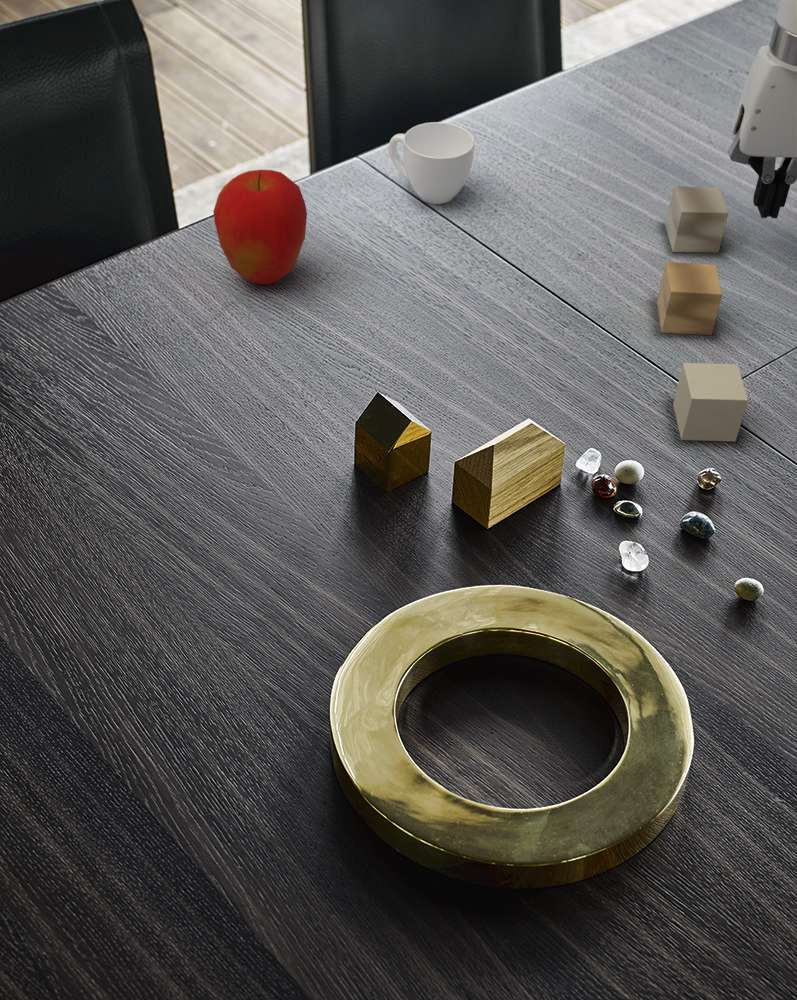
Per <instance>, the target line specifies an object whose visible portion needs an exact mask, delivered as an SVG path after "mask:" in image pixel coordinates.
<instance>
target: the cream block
mask: <svg viewBox="0 0 797 1000" xmlns="http://www.w3.org/2000/svg"><path fill="white" fill-rule="evenodd" d="M745 387H746V386H745V384H744V381H743V377H742V374H741V371H740V367H739V364H738V363H710V362H709V363H708V362H707V363H706V362H705V363H703V362H683V363H682V366H681V371H680V374H679V379H678V382H677V387H676V389H675V395H674V398H673V402H672V406H673V410H674V415H675V419H676V423H677V428H678V432H679V437H680V440H681V441H699V442H701V441H702V442H734V443H735V442H736V441H737V439H738V435H739V432H740V429H741V426H742V422H743V418H744V415H745V412H746V408H747V406H748V402H749V397H748V394H747V390H746V388H745Z"/></svg>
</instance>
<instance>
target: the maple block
mask: <svg viewBox="0 0 797 1000" xmlns="http://www.w3.org/2000/svg"><path fill="white" fill-rule="evenodd" d="M722 290H723V289H722V286H721V281H720V277H719V272H718V268H717V265H716V264H711V263H694V262H693V263H691V262H673V261H665V264H664V268H663V272H662V277H661V281H660V286H659V291H658V293H657V294H658V295H657V300H656V306H657V312H658V313H657V314H658V319H659V326H660V331H661V333H663V334H682V335H696V336H697V335H700V336H713V333H714V328H715V325H716V322H717V317H718V314H719V310H720V305H721V303H722V302H721V301H722V298H723V295H724V294H723V291H722Z"/></svg>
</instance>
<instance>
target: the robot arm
mask: <svg viewBox="0 0 797 1000" xmlns="http://www.w3.org/2000/svg"><path fill="white" fill-rule="evenodd" d="M731 130H732V134H733V135H734V138H733V140H732V142H731V144H730V146H729V148H728V150H727V154H728V158H729V159H730V161H732V162H734V163H738V164H742V165H747V166H750V168H752V170H753V171H754V172H755V173H756V175H757V177H758V178H757V181H756V185H755V189H754V193H753V196H752V197H753V198H752V199H753V200H752V202H753V206H754V207H757V210H758V212H759V215H760V218H761V219H767V218H771V219H778V217H779V214H780V210H781V208H784V207H785V205H786V202H787V199H788V195H789V191H790V188H791V185H794V184H795V183H796V182H797V0H779V3H778V8H777V12H776V16H775V21H774V24H773V28H772V34H771V37H770V41H769V44H768V45H767V44H766V45H762V46H761V47H760V48H759V49H758V52H757V53H756V55H755V58H754V61H753V62H752V64H751V67H750V69H749V72H748V74H747V78H746V80H745V82H744V85H743V88H742V92H741V94H740V96H739V101H738V103H737V107H736V110H735V114H734V118H733V122H732V129H731ZM777 158H782V159H781V161H780V164H779V168H777V169H776V161H777Z"/></svg>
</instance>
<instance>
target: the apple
mask: <svg viewBox="0 0 797 1000" xmlns="http://www.w3.org/2000/svg"><path fill="white" fill-rule="evenodd" d="M307 211H308V210H307V205H306V202H305V198H304V196H303V193H302V191H301V189H300V186H299V185H298V184H297V183H296V182H294V181H293V180H292V179H290V177H288V176H287V175H285V173H283V172H282V171H277V170H274V169H254V170H248V171H245V172H242V173H239V174H238V175H236V176H234V177H233V178H231V179H230V180H229V181H228V182H227V183H226V184H225V185H224V186H223V187H222V188H221V190H220V192H219V193H218V195H217V198H216V201H215V204H214V208H213V220H214V225H215V229H216V233H217V236H218V241H219V246H220V247H221V249H222V251H223V254H224V255H225V258H226V260H227V262H228V263H229V266H230V267H231V269H232V270H233V271H234V272H235V273H237V275H239V276H241V277H242V278H244V279H246V280H247V281H249V282H251V283H252V284H254V285H255V284H256V285H262V286H263V285H264V286H265V285H271V284H275V283H276V282H279V281H280V280H281V279H283V278H284V277H285V276H286V275H288V274H289V273H291V272H292V271H293V270H294V268H295V266H296V264H297V260H298V259H299V255H300V252H301V250H302V247H303V245H304V241H305V239H306V229H307V219H308V212H307Z"/></svg>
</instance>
